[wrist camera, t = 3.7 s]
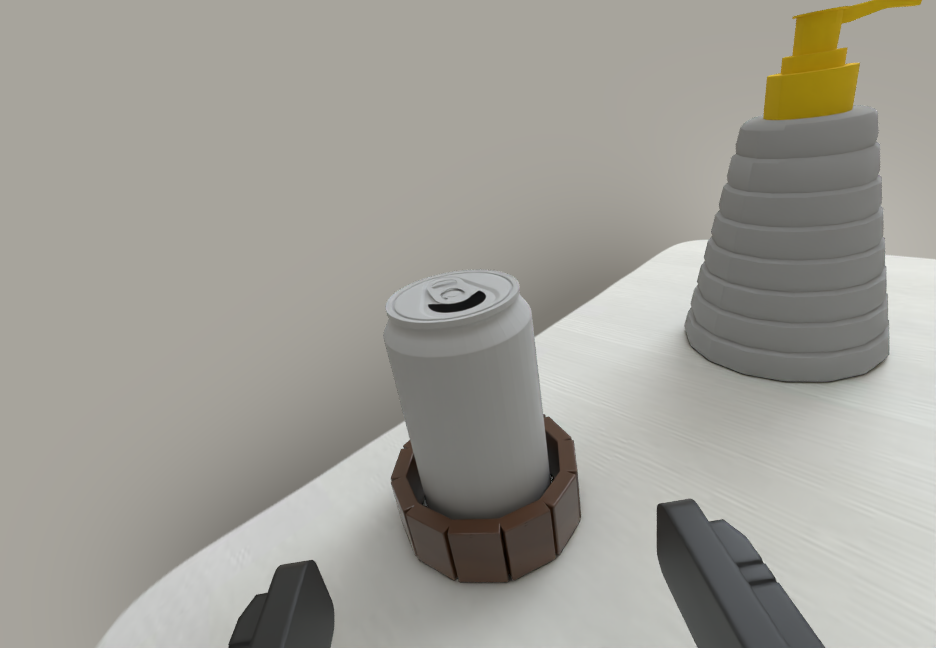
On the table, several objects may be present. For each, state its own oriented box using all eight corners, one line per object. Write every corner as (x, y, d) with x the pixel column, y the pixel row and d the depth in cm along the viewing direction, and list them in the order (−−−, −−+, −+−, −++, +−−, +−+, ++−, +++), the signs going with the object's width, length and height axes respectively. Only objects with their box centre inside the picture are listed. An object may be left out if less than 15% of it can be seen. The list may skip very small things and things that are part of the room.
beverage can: (451, 577, 22) (391, 341, 17) (417, 485, 27) (365, 287, 22) (577, 525, 23) (557, 293, 18) (520, 447, 29) (493, 254, 24)
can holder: (385, 582, 22) (369, 535, 21) (424, 449, 30) (414, 409, 29) (588, 582, 20) (585, 531, 19) (572, 442, 28) (568, 400, 27)
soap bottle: (943, 372, 29) (1068, -43, 20) (723, 393, 30) (753, 14, 22) (818, 293, 40) (865, 5, 31) (663, 311, 41) (667, 41, 33)
